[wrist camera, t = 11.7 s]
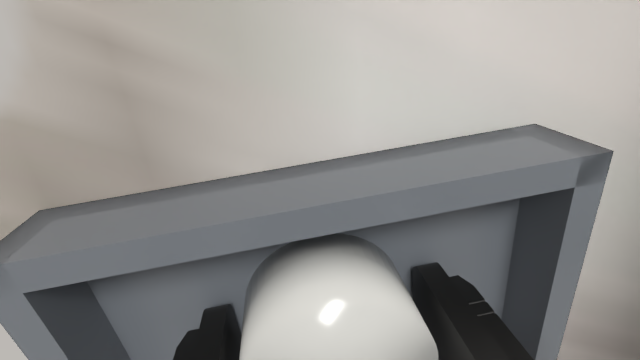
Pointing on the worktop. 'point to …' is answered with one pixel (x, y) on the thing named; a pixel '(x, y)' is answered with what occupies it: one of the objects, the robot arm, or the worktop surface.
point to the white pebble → (331, 305)
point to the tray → (303, 223)
